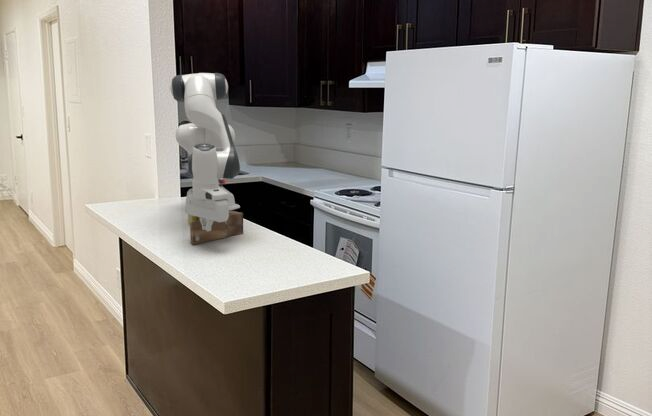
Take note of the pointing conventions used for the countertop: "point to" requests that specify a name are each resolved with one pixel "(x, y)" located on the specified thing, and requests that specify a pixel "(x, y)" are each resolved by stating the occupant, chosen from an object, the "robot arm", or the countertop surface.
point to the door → (207, 232)
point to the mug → (192, 218)
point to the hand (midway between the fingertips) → (206, 230)
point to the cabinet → (234, 223)
